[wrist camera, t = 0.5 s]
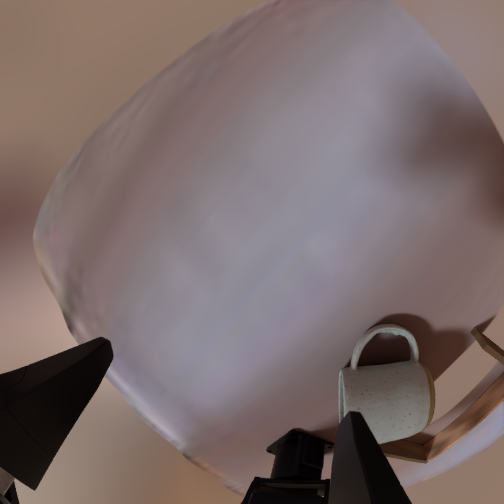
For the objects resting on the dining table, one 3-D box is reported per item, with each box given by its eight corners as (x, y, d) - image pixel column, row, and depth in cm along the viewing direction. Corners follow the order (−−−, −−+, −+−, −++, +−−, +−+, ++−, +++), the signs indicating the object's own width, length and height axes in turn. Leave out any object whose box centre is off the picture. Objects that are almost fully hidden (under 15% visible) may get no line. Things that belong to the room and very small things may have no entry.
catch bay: (422, 447, 24) (425, 463, 22) (365, 432, 25) (367, 451, 22) (515, 360, 18) (525, 375, 15) (474, 327, 19) (487, 344, 16)
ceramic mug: (411, 395, 22) (425, 449, 15) (338, 406, 24) (337, 464, 17) (425, 311, 20) (457, 364, 13) (336, 324, 22) (340, 386, 15)
